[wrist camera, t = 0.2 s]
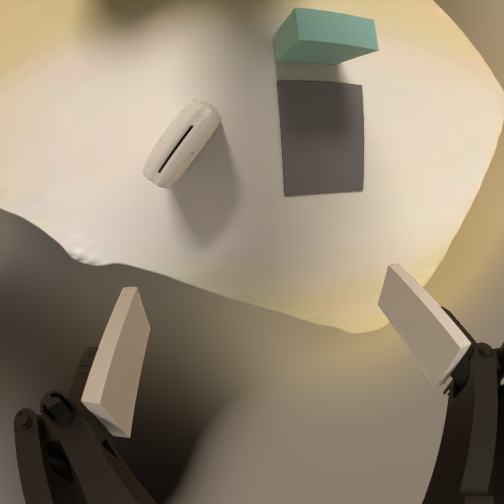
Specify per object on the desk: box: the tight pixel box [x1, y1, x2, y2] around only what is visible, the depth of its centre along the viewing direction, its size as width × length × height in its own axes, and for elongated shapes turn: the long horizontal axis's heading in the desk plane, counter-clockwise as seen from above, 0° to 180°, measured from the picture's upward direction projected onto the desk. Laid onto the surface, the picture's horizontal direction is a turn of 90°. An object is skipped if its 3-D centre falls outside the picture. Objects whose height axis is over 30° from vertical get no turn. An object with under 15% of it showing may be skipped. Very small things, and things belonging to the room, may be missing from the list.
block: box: [273, 8, 378, 65], centre depth 24 cm, size 4×9×12 cm, turn 95°
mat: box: [277, 81, 364, 196], centre depth 36 cm, size 17×13×1 cm
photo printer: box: [143, 99, 222, 188], centre depth 29 cm, size 10×4×12 cm, turn 140°
